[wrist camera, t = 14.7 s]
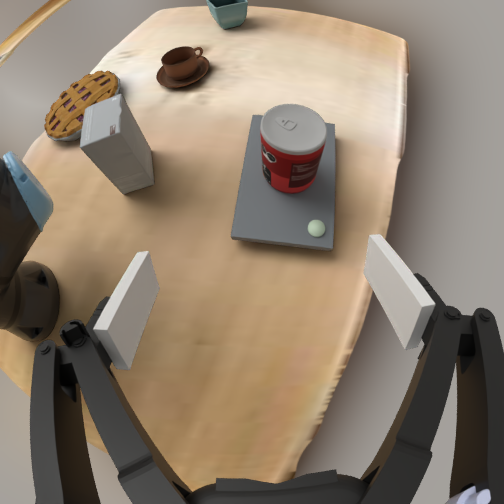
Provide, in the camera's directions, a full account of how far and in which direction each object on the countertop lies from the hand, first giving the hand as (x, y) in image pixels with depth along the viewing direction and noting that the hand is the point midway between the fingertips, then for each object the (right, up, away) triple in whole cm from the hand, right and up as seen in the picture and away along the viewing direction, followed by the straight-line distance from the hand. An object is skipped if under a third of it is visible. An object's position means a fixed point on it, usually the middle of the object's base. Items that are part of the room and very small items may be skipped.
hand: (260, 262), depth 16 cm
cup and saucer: (-16, +40, +36) cm, 56 cm away
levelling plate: (+5, +12, +27) cm, 30 cm away
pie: (-41, +35, +36) cm, 65 cm away
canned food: (+5, +12, +24) cm, 28 cm away
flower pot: (-7, +63, +41) cm, 76 cm away
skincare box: (-21, +15, +30) cm, 39 cm away
